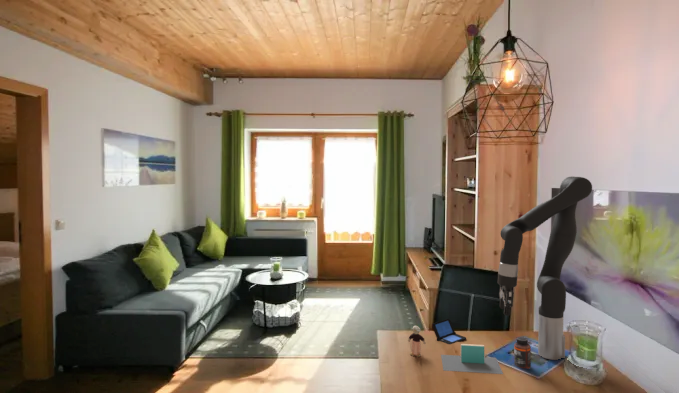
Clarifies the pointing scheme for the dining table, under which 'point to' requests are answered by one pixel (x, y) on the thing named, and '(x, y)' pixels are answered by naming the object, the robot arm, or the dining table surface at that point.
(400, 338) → the dining table surface
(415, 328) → the grandmother figurine
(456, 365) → the mat
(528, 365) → the supplement bottle
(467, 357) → the tile
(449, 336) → the handheld game console
